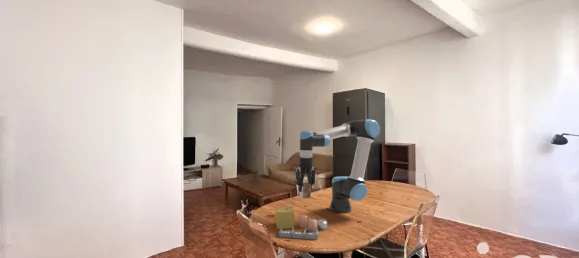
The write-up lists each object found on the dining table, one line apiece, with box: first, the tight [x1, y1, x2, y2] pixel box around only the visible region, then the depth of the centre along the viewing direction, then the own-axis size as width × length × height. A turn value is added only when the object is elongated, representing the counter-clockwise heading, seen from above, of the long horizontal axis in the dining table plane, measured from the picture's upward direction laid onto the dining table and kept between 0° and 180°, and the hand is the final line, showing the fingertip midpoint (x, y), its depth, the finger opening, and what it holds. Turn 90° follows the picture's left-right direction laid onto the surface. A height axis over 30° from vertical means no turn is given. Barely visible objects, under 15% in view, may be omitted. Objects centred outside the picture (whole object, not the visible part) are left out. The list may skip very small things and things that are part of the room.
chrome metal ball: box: [316, 218, 328, 231], centre depth 153 cm, size 6×6×4 cm
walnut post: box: [302, 182, 312, 199], centre depth 156 cm, size 4×4×8 cm
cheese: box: [275, 206, 296, 230], centre depth 157 cm, size 10×11×10 cm
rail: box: [278, 227, 319, 240], centre depth 144 cm, size 21×8×3 cm, turn 80°
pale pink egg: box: [307, 218, 317, 233], centre depth 149 cm, size 5×5×6 cm
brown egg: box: [298, 214, 309, 229], centre depth 156 cm, size 5×5×6 cm
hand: (305, 196), depth 156 cm, fingers closed on walnut post, 4 cm apart
